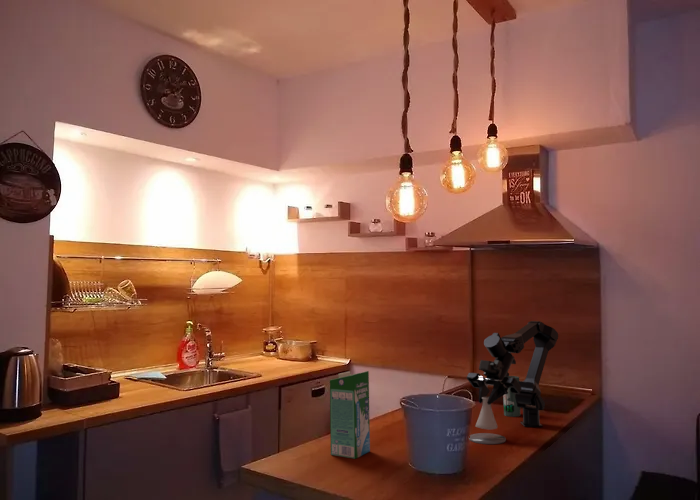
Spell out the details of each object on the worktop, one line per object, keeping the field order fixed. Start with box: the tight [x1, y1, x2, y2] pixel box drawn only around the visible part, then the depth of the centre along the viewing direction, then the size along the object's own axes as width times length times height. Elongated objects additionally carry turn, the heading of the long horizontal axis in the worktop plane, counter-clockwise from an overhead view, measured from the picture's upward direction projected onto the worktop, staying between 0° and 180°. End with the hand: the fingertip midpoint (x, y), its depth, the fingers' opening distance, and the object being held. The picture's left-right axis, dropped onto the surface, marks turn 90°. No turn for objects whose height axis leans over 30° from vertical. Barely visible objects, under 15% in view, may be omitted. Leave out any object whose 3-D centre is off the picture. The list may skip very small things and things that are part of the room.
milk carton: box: [329, 370, 371, 460], centre depth 171 cm, size 9×9×25 cm
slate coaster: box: [468, 432, 507, 445], centre depth 184 cm, size 12×12×1 cm
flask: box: [474, 396, 498, 431], centre depth 185 cm, size 7×7×10 cm
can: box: [502, 375, 522, 418], centre depth 220 cm, size 6×6×15 cm
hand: (483, 403), depth 184 cm, fingers closed on flask, 3 cm apart
